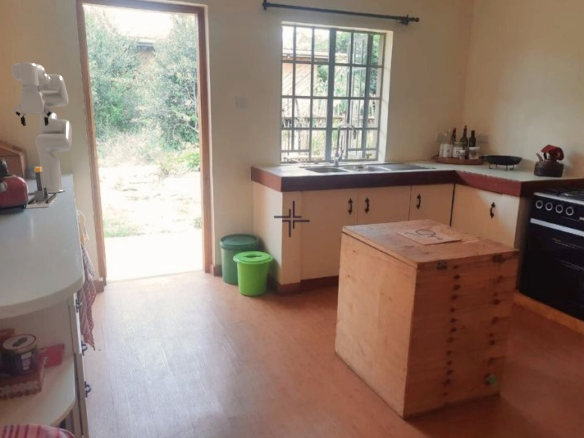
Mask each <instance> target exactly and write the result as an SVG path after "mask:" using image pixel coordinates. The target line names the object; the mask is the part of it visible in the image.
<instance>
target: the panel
mask: <svg viewBox="0 0 584 438" xmlns="http://www.w3.org/2000/svg"><path fill="white" fill-rule="evenodd" d="M58 199H59V194H57V193H52V195H49V193H48V191H47V187H44V190H37V189H36V190H34V195H33V197H31V198H30V199H28V200H27V201H28V205H27V207H26V208H25V209H34V208H35V209H36V208H38V209H39V208H50V207H51V206H52V205H53V204H54V203H55V202H56V201H57V200H58Z"/></svg>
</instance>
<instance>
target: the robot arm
mask: <svg viewBox="0 0 584 438" xmlns="http://www.w3.org/2000/svg"><path fill="white" fill-rule="evenodd" d="M11 74H12V76H13V78H14V79H15V80H16V81H18V82H19V83H20V84H21V92H20V100H19V102H20V104H18V105H16V106H15V107H13V108H12V110H13V112H14V113H15V114H16V116H18V117H19V118H20V123H21V125H22V127H25V126H27V124H26V118H25V116H26V114H39V116H40V117H39V133H40V134H39V135H37V136H36V137H35V139H34V140H35V146H36V149H37V153H38V157H39V158H38V159H39V165H40V166H39V167H42V175H43V183H44V187H47V191H48V194H55V193H56V194H58V193H63V192H66V191H67V188H65V187H63V180H62V171H61V164H60V158H59V157H58V156H57V155H56V154H55V153H56V152H68V151H71V149H72V142H73V141H72V138H73V130H72V124H71V122H70V121H69V120H68V119H63V118H62V119H61V118H60V119H58V115H57V113H56V112H55V111H54V108H53V107H66V106H68V105H69V102H70V101H69V100H70V99H69V95H68V90H67V86H66V82H65V79H64V77H63V76H62V75H60V74H58V73H46V69H45V68H44V66H43V65H41V64H39V63H34V62H30V61H28V62H26V61H25V62H23V61H22V62H19V63H14V64H12V66H11ZM19 109H20V111H21V113H20V112H19V111H18V110H19Z"/></svg>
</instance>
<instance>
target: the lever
mask: <svg viewBox="0 0 584 438" xmlns="http://www.w3.org/2000/svg"><path fill="white" fill-rule="evenodd" d="M33 171H34V172H33V173H34V174H35V175H34V176H35V182H36V183H35V184H36V191H37V190H44V183H43V175H42V167H41V166H36V167H34V168H33Z"/></svg>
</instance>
